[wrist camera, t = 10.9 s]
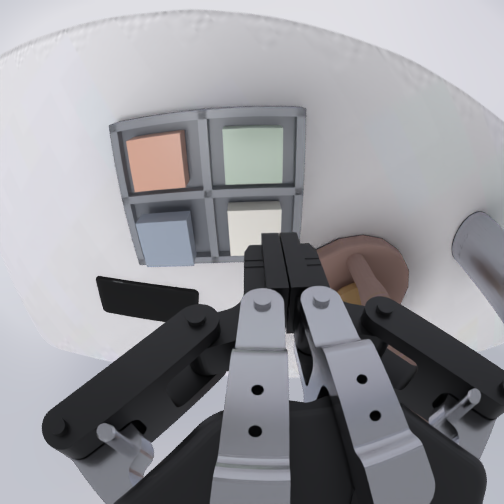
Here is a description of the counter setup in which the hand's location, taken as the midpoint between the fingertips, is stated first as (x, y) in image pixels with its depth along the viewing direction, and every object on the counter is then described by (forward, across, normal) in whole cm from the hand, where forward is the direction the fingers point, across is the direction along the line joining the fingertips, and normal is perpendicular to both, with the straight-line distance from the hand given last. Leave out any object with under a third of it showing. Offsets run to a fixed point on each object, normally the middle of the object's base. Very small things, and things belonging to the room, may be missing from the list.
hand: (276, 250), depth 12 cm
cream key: (+15, +1, +7) cm, 17 cm away
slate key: (+14, +9, +7) cm, 18 cm away
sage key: (+15, +1, -1) cm, 15 cm away
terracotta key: (+15, +9, -1) cm, 18 cm away
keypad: (+16, +5, +3) cm, 17 cm away
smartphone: (+17, +16, +19) cm, 30 cm away
